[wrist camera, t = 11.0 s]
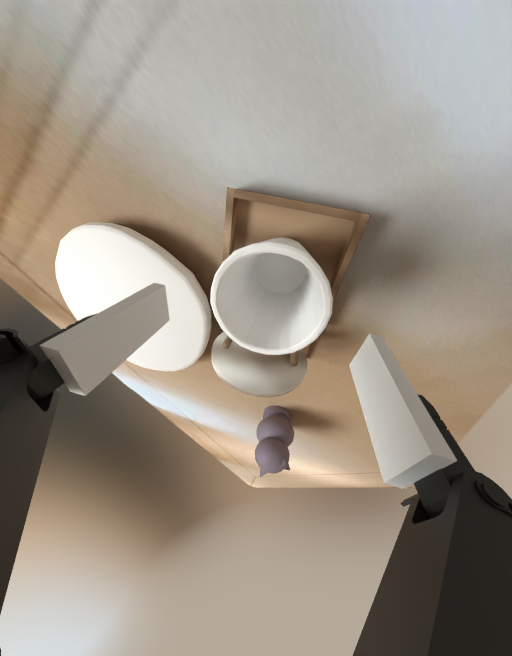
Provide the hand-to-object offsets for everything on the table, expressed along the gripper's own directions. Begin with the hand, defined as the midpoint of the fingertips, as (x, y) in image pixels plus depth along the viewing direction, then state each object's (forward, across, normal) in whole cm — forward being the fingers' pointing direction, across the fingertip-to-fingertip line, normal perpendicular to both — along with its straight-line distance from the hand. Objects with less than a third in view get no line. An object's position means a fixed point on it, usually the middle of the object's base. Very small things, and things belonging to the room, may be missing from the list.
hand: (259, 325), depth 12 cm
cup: (+16, 0, -1) cm, 16 cm away
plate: (+18, -23, -13) cm, 31 cm away
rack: (+17, 0, -4) cm, 18 cm away
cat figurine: (+17, +7, -35) cm, 39 cm away
